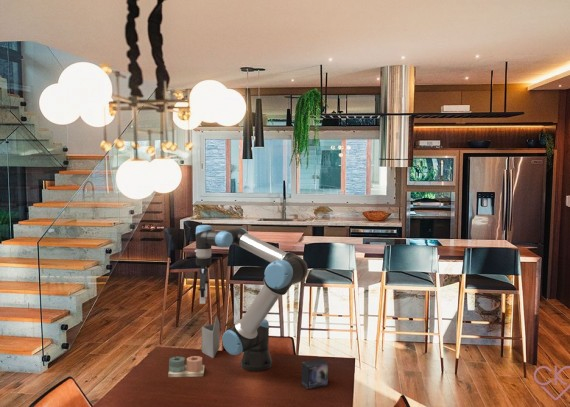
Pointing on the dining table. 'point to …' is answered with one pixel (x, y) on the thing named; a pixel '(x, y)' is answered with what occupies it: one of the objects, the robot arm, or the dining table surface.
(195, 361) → the loose gear
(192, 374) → the gear board
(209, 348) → the grey magazine holder
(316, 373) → the small box
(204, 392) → the dining table surface
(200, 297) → the robot arm
